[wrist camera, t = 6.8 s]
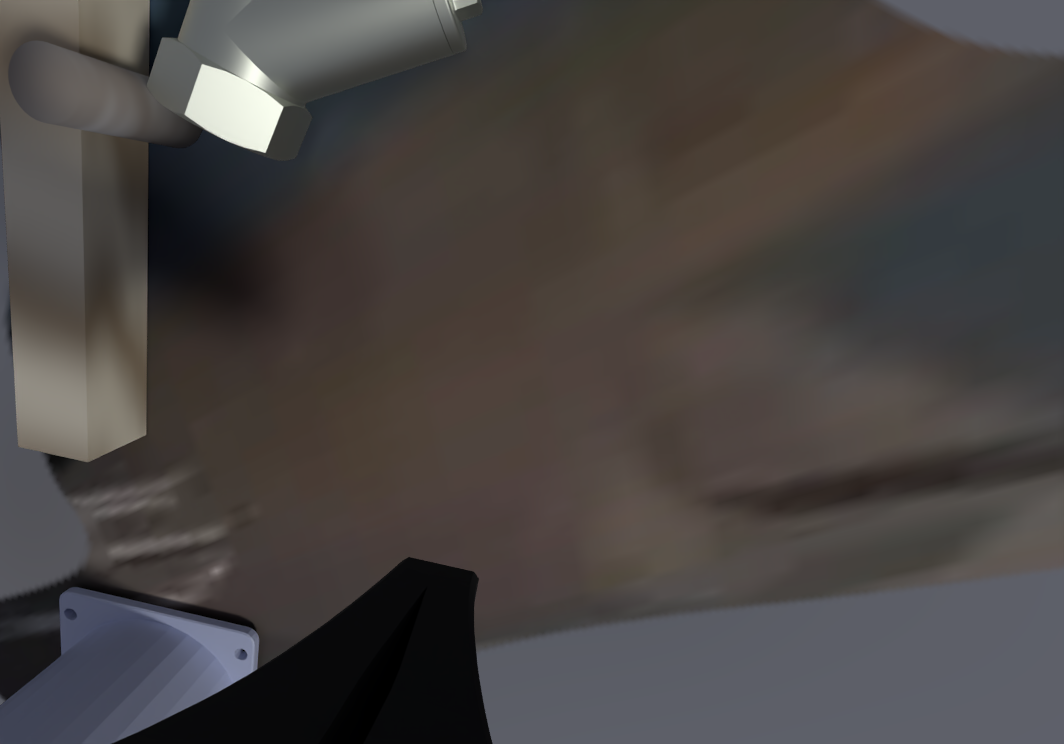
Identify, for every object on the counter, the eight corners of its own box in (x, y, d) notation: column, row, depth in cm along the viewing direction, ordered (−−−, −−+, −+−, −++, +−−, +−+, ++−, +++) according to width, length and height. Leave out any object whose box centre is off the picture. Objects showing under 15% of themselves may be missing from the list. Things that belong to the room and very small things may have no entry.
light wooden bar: (193, 445, 21) (88, 502, 16) (84, 421, 21) (-49, 472, 17) (217, -322, 15) (65, -544, 11) (66, -346, 15) (-143, -573, 11)
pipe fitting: (519, -31, 17) (306, -168, 16) (511, -99, 13) (231, -281, 12) (401, 218, 19) (207, 108, 18) (365, 222, 15) (117, 84, 14)
